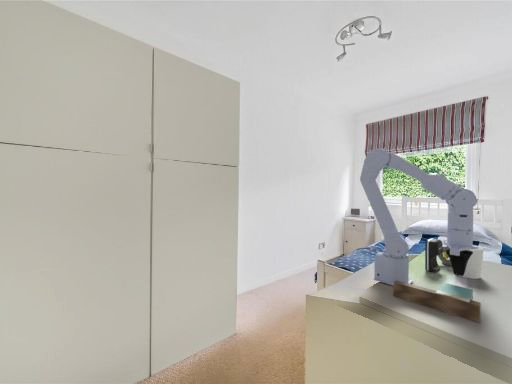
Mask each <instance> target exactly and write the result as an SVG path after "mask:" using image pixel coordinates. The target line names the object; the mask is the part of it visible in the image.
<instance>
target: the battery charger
mask: <svg viewBox="0 0 512 384" xmlns="http://www.w3.org/2000/svg"><path fill="white" fill-rule="evenodd" d="M424 245H425V247H424V250H425V251H424V257H425V259H424V267H425V268H424V269H425V271H427V272H434V273H436V272H438V271H439V270H440V269H441V266H440V265H439V263H438V261H437V260H438V255H440V254H442V252H443V247H444V246H443V240H441V239H437V238H429V239H426V240H425V244H424ZM443 253H444V252H443Z"/></svg>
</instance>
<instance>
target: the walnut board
mask: <svg viewBox="0 0 512 384" xmlns="http://www.w3.org/2000/svg"><path fill="white" fill-rule="evenodd" d="M393 297H395V298H399V299H403V300H406V301H409V302H412V303H415V304H418V305H422V306H425V307H428V308H430V309H434V310H438V311H441V312H445V313H448V314H451V315H454V316H458V317H460V318H464V319H467V320H470V321H473V322H477V323H480V321H481V305H482V304H481V303H482V302H480V301H476V300H470V299H469V298H465V297H461V296H458V295H454V294H450V293H446V292H442V291H439V289H437V290H434V289H430V288H427V287H423V286H419V285H416V284H413V283H411V284H408V283H405V282H401V281H397V280H396V281H394V286H393Z"/></svg>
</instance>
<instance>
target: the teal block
mask: <svg viewBox="0 0 512 384" xmlns="http://www.w3.org/2000/svg"><path fill="white" fill-rule="evenodd" d="M438 290H439V291H442V292H446V293H450V294H454V295H458V296H461V297H465V298H469V299H470V300H473V298H474V297H473V295H474V294H473V292H474V290H473V289H471V288H467V287H464V286H460V285H455V284H451V283H447V282H443V283H442V284H441V286H440V287H439V288H438ZM473 301H474V300H473Z"/></svg>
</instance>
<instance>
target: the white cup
mask: <svg viewBox="0 0 512 384" xmlns="http://www.w3.org/2000/svg"><path fill="white" fill-rule="evenodd" d="M469 251H472V252H473V254H472V255H471V256H470V258H469V260H468V263H467V266H466V270H465V273H464V275H463V276H460V275H458V277H462V278H466V279H472V280H477V279H481V278H482V269H483V259H484V248H483V247H480V246H478V249H470V250H469Z"/></svg>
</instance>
